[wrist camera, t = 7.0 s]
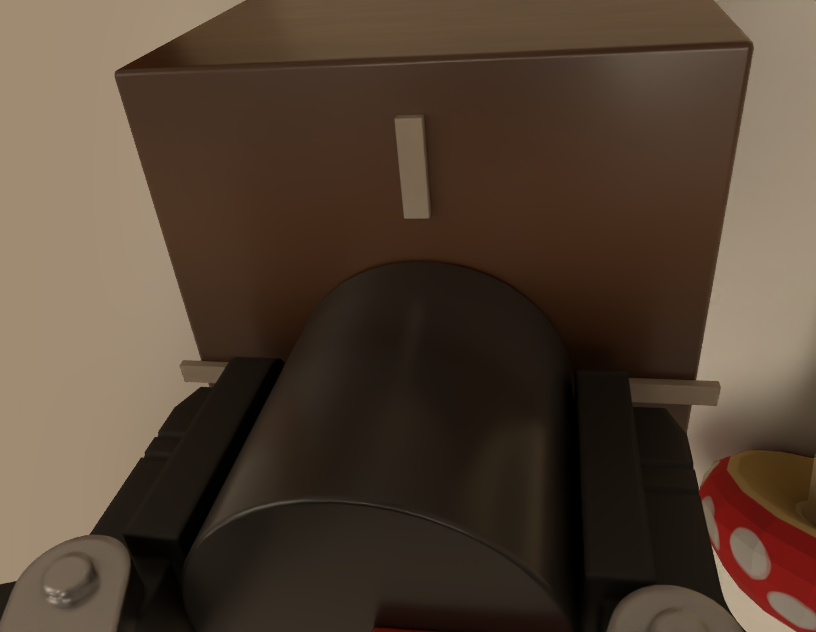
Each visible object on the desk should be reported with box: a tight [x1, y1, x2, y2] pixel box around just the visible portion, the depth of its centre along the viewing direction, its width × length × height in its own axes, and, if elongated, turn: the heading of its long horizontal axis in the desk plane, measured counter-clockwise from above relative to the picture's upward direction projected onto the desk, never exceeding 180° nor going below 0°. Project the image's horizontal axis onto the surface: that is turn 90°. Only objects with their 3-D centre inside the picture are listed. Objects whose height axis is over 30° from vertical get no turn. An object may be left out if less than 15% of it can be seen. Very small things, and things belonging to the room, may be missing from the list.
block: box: [115, 0, 754, 434], centre depth 19 cm, size 10×9×18 cm
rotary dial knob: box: [181, 262, 580, 632], centre depth 9 cm, size 4×4×5 cm
